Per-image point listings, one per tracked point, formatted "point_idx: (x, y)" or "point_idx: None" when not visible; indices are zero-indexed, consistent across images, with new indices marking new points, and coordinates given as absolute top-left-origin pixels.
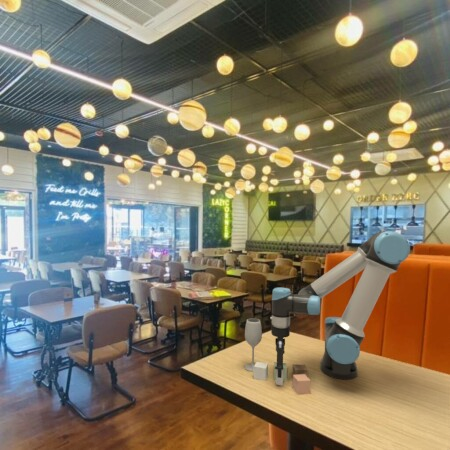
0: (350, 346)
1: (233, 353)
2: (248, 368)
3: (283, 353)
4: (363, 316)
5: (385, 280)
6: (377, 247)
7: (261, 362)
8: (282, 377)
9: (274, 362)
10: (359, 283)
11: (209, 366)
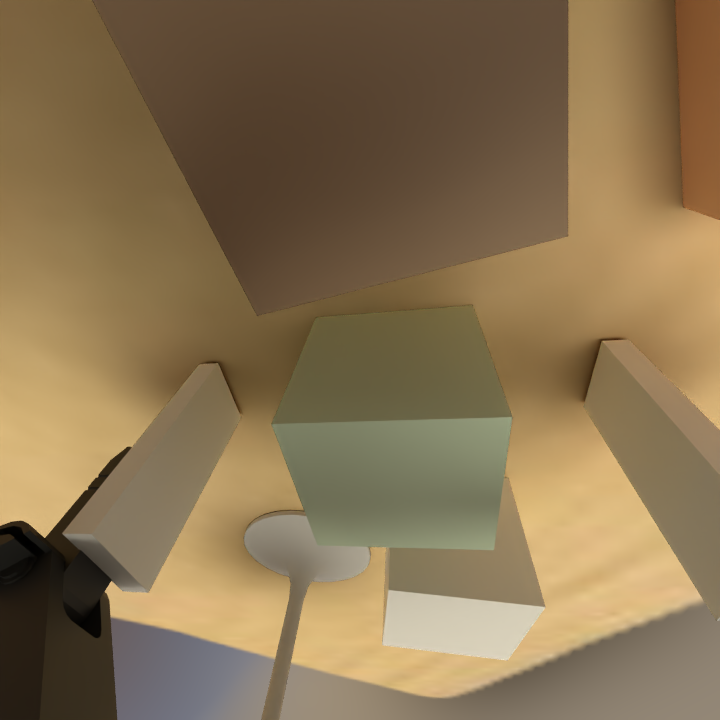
0: None
1: (172, 614)
2: (347, 572)
3: (40, 542)
4: None
5: None
6: None
7: (386, 623)
8: (692, 414)
9: (327, 544)
10: None
11: (387, 666)
